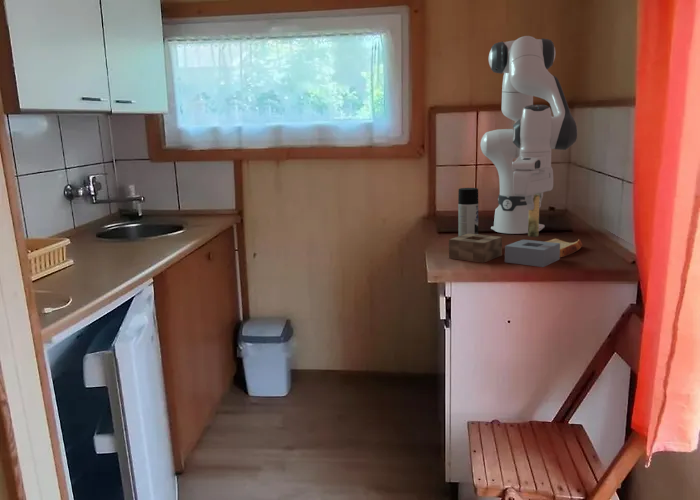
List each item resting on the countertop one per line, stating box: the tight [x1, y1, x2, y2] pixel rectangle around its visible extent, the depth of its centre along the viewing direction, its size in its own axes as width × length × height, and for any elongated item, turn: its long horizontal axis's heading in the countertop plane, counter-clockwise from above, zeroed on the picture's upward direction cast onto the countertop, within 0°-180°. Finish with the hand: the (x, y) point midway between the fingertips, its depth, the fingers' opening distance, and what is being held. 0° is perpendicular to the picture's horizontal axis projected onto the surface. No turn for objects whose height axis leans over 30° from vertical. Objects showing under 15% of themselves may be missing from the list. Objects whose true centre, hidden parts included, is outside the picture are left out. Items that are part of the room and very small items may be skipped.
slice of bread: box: [544, 238, 583, 258], centre depth 186 cm, size 18×18×4 cm
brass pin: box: [527, 194, 540, 238], centre depth 172 cm, size 3×3×12 cm
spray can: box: [457, 187, 479, 237], centre depth 197 cm, size 7×7×20 cm
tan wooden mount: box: [448, 233, 503, 263], centre depth 182 cm, size 12×12×6 cm
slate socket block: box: [504, 239, 561, 268], centre depth 174 cm, size 12×12×5 cm
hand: (533, 208), depth 171 cm, fingers closed on brass pin, 3 cm apart
